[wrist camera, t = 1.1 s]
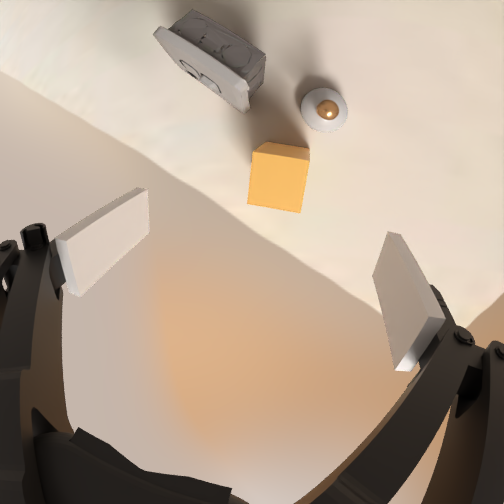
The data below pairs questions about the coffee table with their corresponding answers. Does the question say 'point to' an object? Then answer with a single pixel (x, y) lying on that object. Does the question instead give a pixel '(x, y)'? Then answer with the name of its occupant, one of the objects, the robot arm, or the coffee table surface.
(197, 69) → the electrical switch
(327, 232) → the coffee table surface
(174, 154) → the coffee table surface
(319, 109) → the brass peg
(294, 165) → the yellow upright square block
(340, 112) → the base
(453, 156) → the coffee table surface
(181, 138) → the coffee table surface
